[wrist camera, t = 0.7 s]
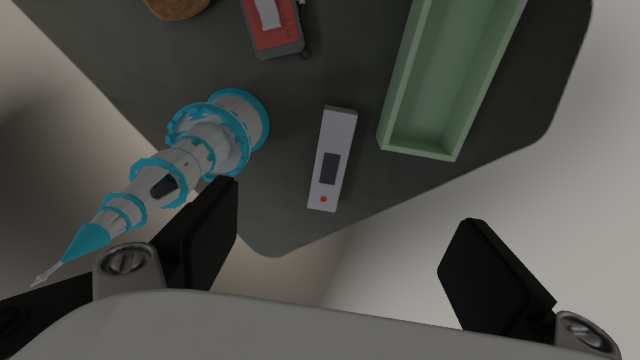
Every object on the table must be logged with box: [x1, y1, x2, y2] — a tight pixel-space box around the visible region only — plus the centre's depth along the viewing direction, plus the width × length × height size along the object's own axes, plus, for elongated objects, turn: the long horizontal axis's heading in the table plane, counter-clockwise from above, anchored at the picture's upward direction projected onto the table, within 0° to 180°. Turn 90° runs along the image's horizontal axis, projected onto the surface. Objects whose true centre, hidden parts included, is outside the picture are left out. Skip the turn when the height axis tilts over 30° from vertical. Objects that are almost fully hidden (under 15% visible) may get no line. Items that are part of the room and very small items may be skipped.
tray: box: [375, 0, 527, 162], centre depth 32 cm, size 21×10×6 cm, turn 171°
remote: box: [307, 105, 358, 212], centre depth 40 cm, size 16×5×3 cm, turn 171°
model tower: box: [30, 88, 270, 287], centre depth 26 cm, size 10×10×30 cm
